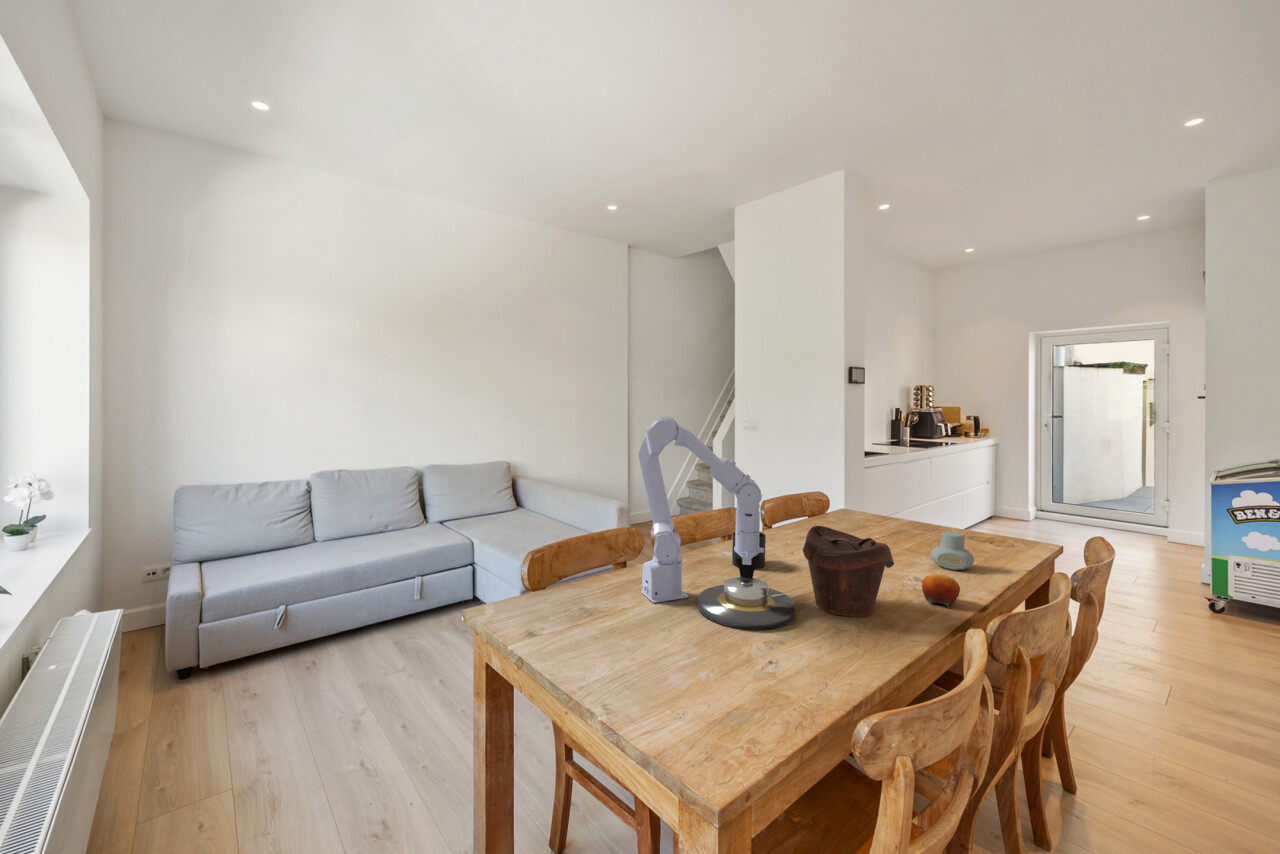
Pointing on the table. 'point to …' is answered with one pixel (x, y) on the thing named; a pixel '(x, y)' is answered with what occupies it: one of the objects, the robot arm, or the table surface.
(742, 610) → the turntable
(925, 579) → the fruit
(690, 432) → the robot arm
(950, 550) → the air freshener
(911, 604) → the table surface
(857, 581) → the case
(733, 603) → the cover
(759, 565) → the black cylindrical cup
